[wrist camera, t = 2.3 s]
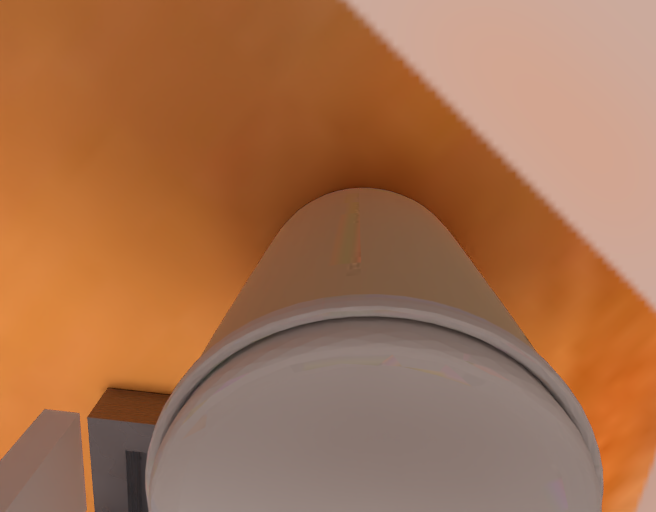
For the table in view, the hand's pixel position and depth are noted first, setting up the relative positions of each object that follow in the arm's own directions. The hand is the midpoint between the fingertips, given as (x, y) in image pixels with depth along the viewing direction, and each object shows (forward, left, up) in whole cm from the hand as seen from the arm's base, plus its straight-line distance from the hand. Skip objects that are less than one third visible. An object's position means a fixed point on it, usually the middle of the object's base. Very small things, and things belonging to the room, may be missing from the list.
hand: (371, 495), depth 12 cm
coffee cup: (0, 0, -11) cm, 11 cm away
